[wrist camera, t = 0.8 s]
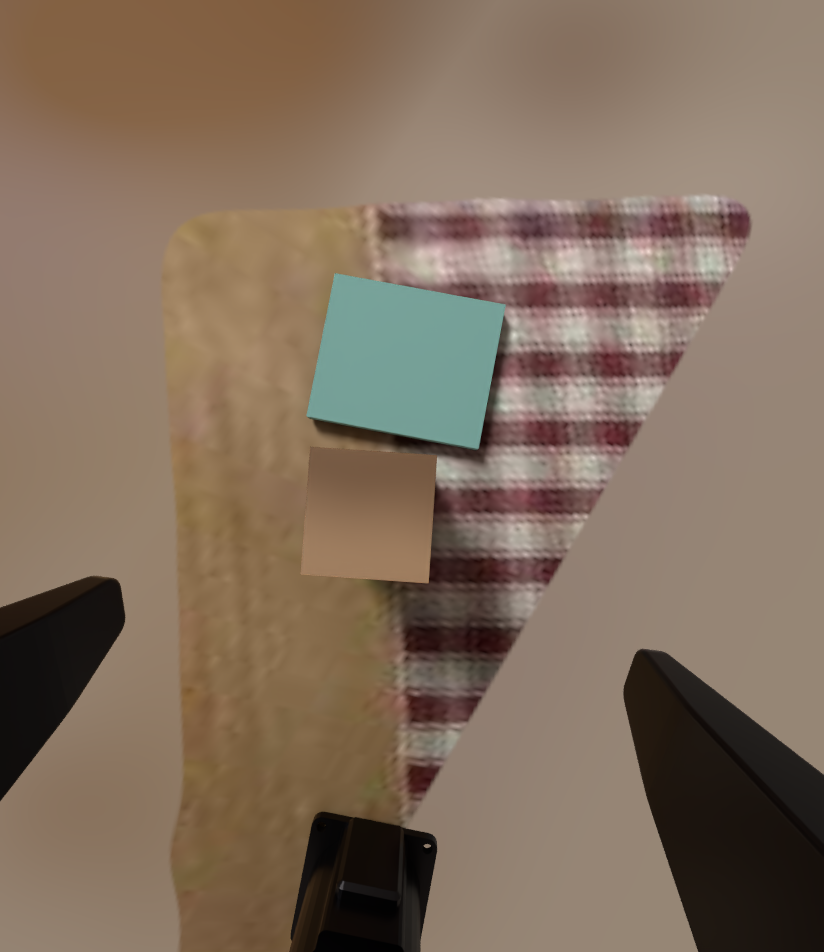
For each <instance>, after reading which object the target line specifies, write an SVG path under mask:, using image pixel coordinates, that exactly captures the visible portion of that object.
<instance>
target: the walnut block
mask: <svg viewBox="0 0 824 952" xmlns="http://www.w3.org/2000/svg"><path fill="white" fill-rule="evenodd" d="M436 463H437V455H425V454H410V453H395V452H380V451H365V450H350V449H335V448H320V447H310V457H309V470H308V484H307V497H306V511H305V524H304V538H303V551H302V564H301V574H303V575H317V576H331V577H346V578H360V579H374V580H388V581H402V582H416V583H429V570H430V554H431V539H432V524H433V509H434V494H435V479H436Z"/></svg>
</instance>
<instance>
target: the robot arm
mask: <svg viewBox="0 0 824 952" xmlns="http://www.w3.org/2000/svg"><path fill="white" fill-rule="evenodd" d="M124 623H125V611H124V604H123V598H122V592H121V586H120V583H119V582H118V581H117V580H116V579H114V578H109V577H102V576H90V577H86V578H83V579H81V580H78V581H75V582H72V583H69V584H66V585H64V586H61V587H58V588H55V589H52V590H49V591H46V592H43V593H41V594H38V595H35V596H32V597H29V598H26V599H23V600H21V601H18V602H15V603H12V604H9V605H6V606H3V607H1V608H0V801H1V800H2V798H3V797H4V795H6V793H7V792H8V791H9V789H10V788H11V787H12V786H13V784H14V783H15V782H16V780H17V779H18V778H19V776H20V775H21V774H22V773H23V771H24V770H25V769H26V767H27V766H28V765H29V764H30V762H31V761H32V760H33V758H34V757H35V756H36V754H37V753H38V752H39V751H40V749H41V748H42V747H43V746H44V744H45V743H46V742H47V740H48V739H49V738H50V736H51V735H52V734H53V733H54V731H55V730H56V729H57V727H58V726H59V725H60V723H61V722H62V721H63V719H64V718H65V717H66V715H67V714H68V713H69V711H70V710H71V708H72V707H73V705H74V704H75V702H76V701H77V700H78V698H79V697H80V695H81V693H82V692H83V690H84V689H85V687H86V686H87V684H88V683H89V681H90V679H91V678H92V676H93V675H94V673H95V671H96V670H97V668H98V667H99V665H100V664H101V662H102V661H103V659H104V658H105V656H106V654H107V653H108V651H109V649H110V648H111V647H112V645H113V643H114V642H115V640H116V639H117V637H118V636H119V634H120V633H121V631H122V629H123V626H124ZM624 702H625V707H626V711H627V715H628V720H629V724H630V728H631V733H632V737H633V741H634V746H635V750H636V754H637V759H638V763H639V768H640V772H641V776H642V780H643V784H644V788H645V792H646V796H647V799H648V802H649V805H650V809H651V812H652V815H653V818H654V821H655V824H656V827H657V830H658V833H659V836H660V839H661V842H662V845H663V848H664V851H665V854H666V857H667V860H668V863H669V866H670V868H671V872H672V875H673V878H674V880H675V884H676V887H677V890H678V893H679V896H680V898H681V902H682V904H683V907H684V911H685V913H686V916H687V919H688V922H689V925H690V928H691V931H692V934H693V937H694V940H695V943H696V946H697V949H698V952H824V775H823V774H822V773H821V772H820V771H818V770H817V769H816V768H814V767H813V766H812V765H811V764H809V763H808V762H807V761H805V760H804V759H803V758H801V757H800V756H799V755H798V754H796V753H795V752H794V751H792V750H791V749H790V748H789V747H787V746H786V745H785V744H783V743H782V742H781V741H779V740H778V739H777V738H776V737H774V736H773V735H772V734H770V733H769V732H768V731H767V730H765V729H764V728H763V727H761V726H760V725H759V724H758V723H756V722H755V721H754V720H752V719H751V718H750V717H749V716H747V715H746V714H745V713H743V712H742V711H741V710H740V709H738V708H737V707H736V706H734V705H733V704H732V703H730V702H729V701H728V700H727V699H725V698H724V697H723V696H721V695H720V694H719V693H718V692H716V691H715V690H714V689H712V688H711V687H710V686H708V685H707V684H706V683H704V682H703V681H702V680H701V679H699V678H698V677H697V676H696V675H694V674H693V673H692V672H690V671H689V670H688V669H687V668H685V667H684V666H682V665H681V664H680V663H679V662H678V661H676V660H675V659H674V658H672V657H671V656H670V655H668V654H667V653H665V652H662V651H656V650H648V649H640V650H638V651H637V652H636V654H635V656H634V659H633V661H632V664H631V667H630V670H629V673H628V676H627V679H626V682H625V685H624ZM319 822H323V823H325V824H326V826H323V827H322V826H320V825H319V824H318V823H319ZM425 844H430V845H431V847H429V848H425V847H424V845H425ZM436 854H437V841H436V838H435V837H434V836H433V835H432V834H429V833H425V832H420V831H415V830H411V829H406V828H401V827H400V826H396V825H391V824H386V823H381V822H376V821H372V820H367V819H362V818H357V817H355V818H352V817H347V816H342V815H338V814H333V813H328V812H320V813H317V814H316V816H315V817H314V820H313V823H312V827H311V832H310V837H309V842H308V847H307V852H306V858H305V863H304V868H303V873H302V878H301V883H300V888H299V894H298V899H297V904H296V909H295V914H294V919H293V925H292V930H291V940H292V944H291V947H290V951H289V952H420V940H421V934H422V929H423V924H424V918H425V913H426V906H427V902H428V897H429V891H430V886H431V880H432V875H433V870H434V864H435V859H436Z"/></svg>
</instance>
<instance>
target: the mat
mask: <svg viewBox="0 0 824 952" xmlns="http://www.w3.org/2000/svg"><path fill="white" fill-rule="evenodd" d="M504 311H505V305H504V304H499V303H494V302H488V301H483V300H477V299H472V298H466V297H461V296H455V295H450V294H445V293H439V292H434V291H428V290H423V289H417V288H412V287H407V286H401V285H396V284H390V283H385V282H379V281H374V280H369V279H363V278H358V277H352V276H347V275H341V274H336V273H335V276H334V281H333V286H332V291H331V296H330V301H329V306H328V311H327V316H326V321H325V326H324V331H323V336H322V341H321V346H320V351H319V356H318V361H317V366H316V371H315V376H314V381H313V386H312V391H311V396H310V401H309V406H308V411H307V417H308V418H310V419H314V420H319V421H325V422H330V423H335V424H340V425H346V426H351V427H356V428H362V429H367V430H372V431H377V432H383V433H388V434H393V435H398V436H404V437H409V438H414V439H419V440H425V441H430V442H435V443H440V444H446V445H451V446H456V447H462V448H467V449H472V450H478V449H479V443H480V438H481V433H482V428H483V422H484V417H485V412H486V406H487V401H488V396H489V390H490V385H491V380H492V374H493V369H494V364H495V358H496V353H497V348H498V343H499V337H500V332H501V327H502V321H503V316H504Z"/></svg>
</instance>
